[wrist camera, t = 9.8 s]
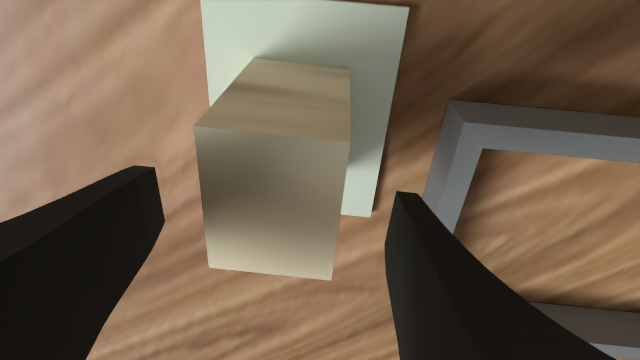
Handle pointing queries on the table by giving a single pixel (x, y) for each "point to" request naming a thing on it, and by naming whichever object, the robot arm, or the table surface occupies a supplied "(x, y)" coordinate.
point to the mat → (318, 48)
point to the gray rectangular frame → (542, 138)
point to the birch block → (275, 168)
